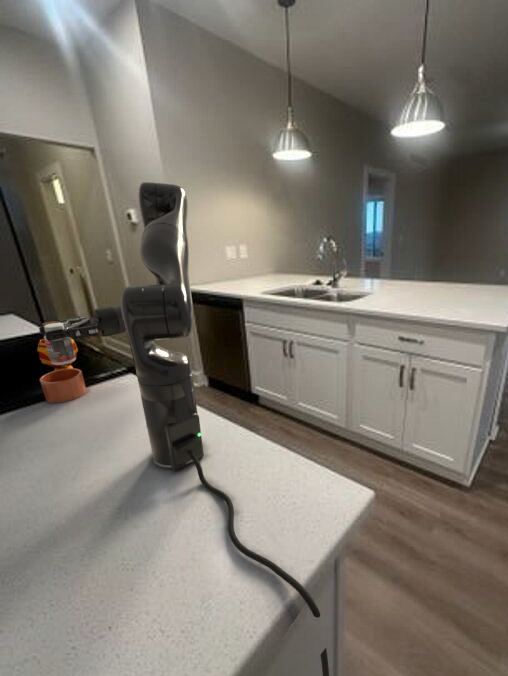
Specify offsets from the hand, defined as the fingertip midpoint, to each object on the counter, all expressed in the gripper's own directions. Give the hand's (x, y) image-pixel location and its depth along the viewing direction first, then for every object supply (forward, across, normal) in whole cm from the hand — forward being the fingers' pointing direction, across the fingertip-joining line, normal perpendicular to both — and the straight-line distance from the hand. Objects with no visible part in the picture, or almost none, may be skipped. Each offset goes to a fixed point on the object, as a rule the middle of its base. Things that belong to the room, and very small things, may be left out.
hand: (43, 334), depth 83 cm
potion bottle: (-5, -20, +18) cm, 27 cm away
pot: (-1, -1, +17) cm, 17 cm away
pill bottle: (-3, 0, +8) cm, 9 cm away
